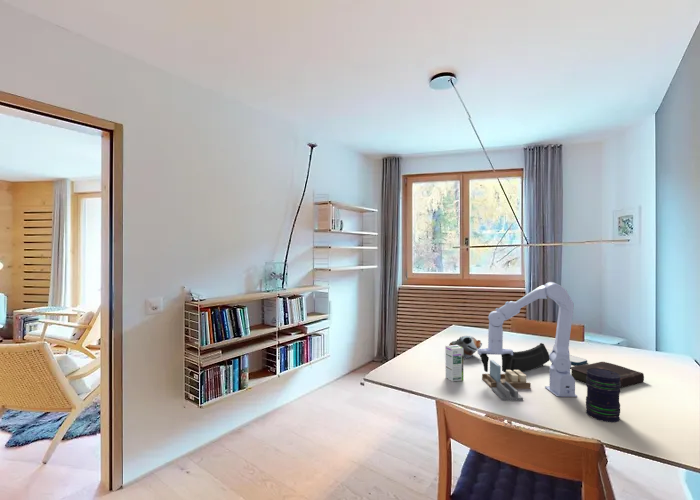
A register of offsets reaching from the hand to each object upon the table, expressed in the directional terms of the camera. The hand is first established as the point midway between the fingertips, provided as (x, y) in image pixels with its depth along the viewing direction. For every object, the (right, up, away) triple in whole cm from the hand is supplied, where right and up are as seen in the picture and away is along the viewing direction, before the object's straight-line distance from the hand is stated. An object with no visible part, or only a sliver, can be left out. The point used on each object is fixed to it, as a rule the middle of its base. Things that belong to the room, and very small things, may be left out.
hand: (494, 371), depth 156 cm
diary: (+51, -6, +6) cm, 52 cm away
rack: (+5, -5, 0) cm, 7 cm away
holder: (0, -5, -12) cm, 13 cm away
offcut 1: (+7, -5, 0) cm, 8 cm away
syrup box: (-16, -5, +5) cm, 18 cm away
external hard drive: (+49, -6, +37) cm, 62 cm away
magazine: (+23, -6, +19) cm, 30 cm away
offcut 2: (+11, -5, 0) cm, 11 cm away
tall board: (0, -5, 0) cm, 5 cm away
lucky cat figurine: (0, -5, +40) cm, 40 cm away
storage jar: (+26, -6, -29) cm, 39 cm away
